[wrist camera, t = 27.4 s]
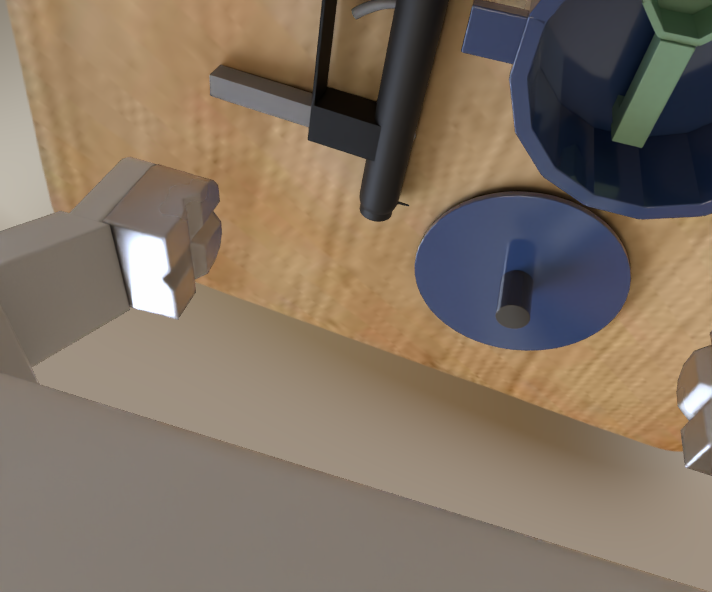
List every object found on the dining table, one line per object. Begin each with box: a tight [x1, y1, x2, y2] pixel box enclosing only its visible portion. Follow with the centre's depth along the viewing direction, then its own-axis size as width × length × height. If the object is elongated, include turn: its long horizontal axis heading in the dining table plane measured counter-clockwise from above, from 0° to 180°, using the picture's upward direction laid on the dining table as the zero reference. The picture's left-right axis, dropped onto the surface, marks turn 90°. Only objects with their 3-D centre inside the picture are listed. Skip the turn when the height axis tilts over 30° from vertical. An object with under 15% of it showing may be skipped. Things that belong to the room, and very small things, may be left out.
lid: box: [415, 191, 631, 351], centre depth 48 cm, size 17×17×5 cm
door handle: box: [210, 0, 449, 222], centre depth 41 cm, size 3×20×16 cm
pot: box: [461, 0, 712, 219], centre depth 32 cm, size 16×21×8 cm
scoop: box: [611, 0, 712, 148], centre depth 33 cm, size 11×5×4 cm, turn 173°
